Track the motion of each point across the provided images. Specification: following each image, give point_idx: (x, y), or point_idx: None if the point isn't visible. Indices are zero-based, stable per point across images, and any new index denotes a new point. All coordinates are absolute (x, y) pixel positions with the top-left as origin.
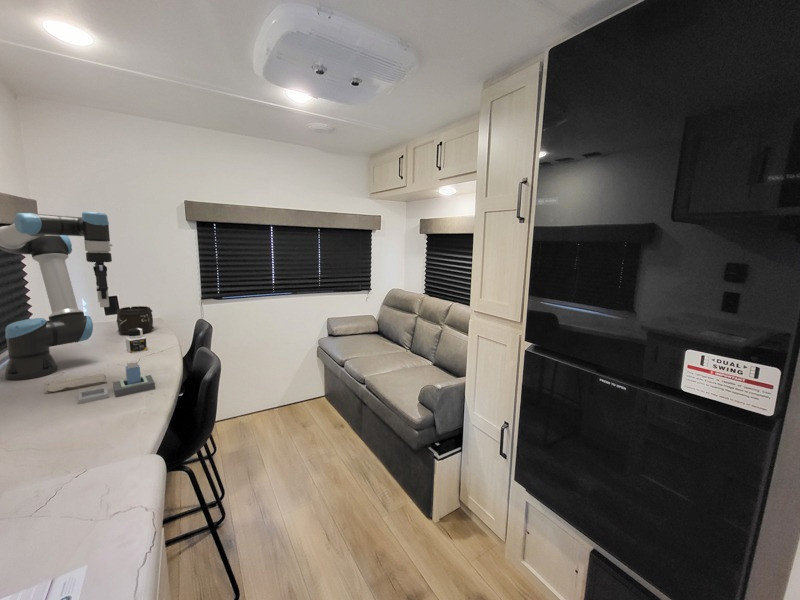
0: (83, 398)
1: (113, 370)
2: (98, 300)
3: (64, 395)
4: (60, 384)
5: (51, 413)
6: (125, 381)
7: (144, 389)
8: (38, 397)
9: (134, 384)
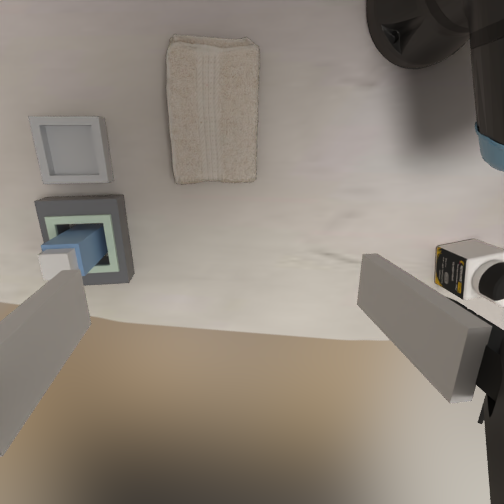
0: (32, 128)
1: (301, 200)
2: (369, 261)
3: (152, 86)
4: (215, 75)
5: (18, 57)
6: (104, 226)
7: None
8: (174, 24)
9: None
